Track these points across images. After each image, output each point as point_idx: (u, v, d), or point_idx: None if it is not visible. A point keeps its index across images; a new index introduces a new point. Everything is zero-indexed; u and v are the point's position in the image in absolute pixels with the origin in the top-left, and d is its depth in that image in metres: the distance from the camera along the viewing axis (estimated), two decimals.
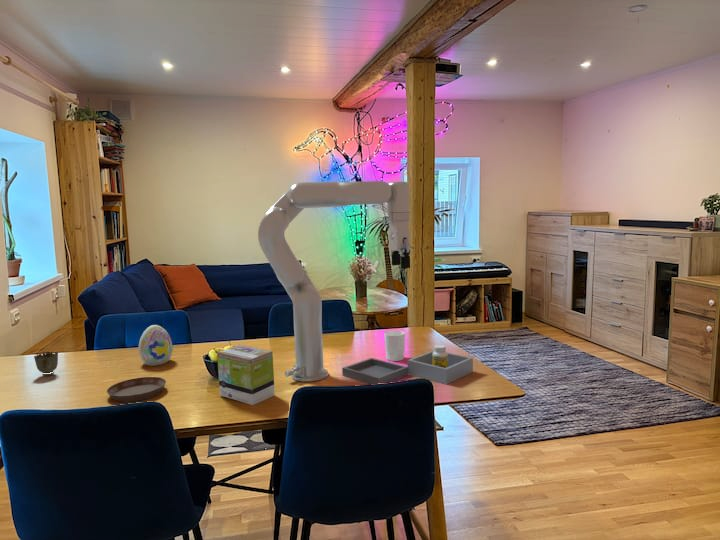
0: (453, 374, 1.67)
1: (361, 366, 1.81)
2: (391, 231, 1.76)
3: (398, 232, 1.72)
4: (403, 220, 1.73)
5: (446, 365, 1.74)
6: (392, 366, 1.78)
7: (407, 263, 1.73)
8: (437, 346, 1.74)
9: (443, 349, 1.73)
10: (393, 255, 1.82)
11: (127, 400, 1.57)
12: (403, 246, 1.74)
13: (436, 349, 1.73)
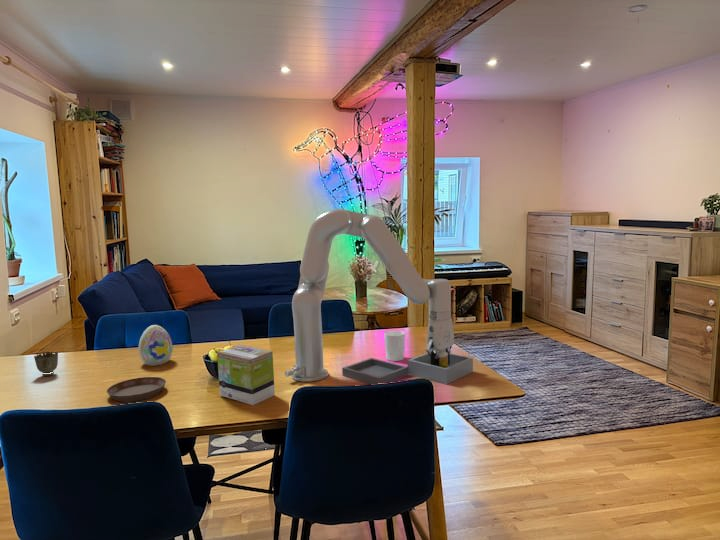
0: (453, 374, 1.67)
1: (361, 366, 1.81)
2: (445, 330, 1.72)
3: None
4: None
5: (446, 365, 1.74)
6: (392, 366, 1.78)
7: None
8: None
9: (443, 349, 1.73)
10: None
11: (127, 400, 1.57)
12: None
13: None
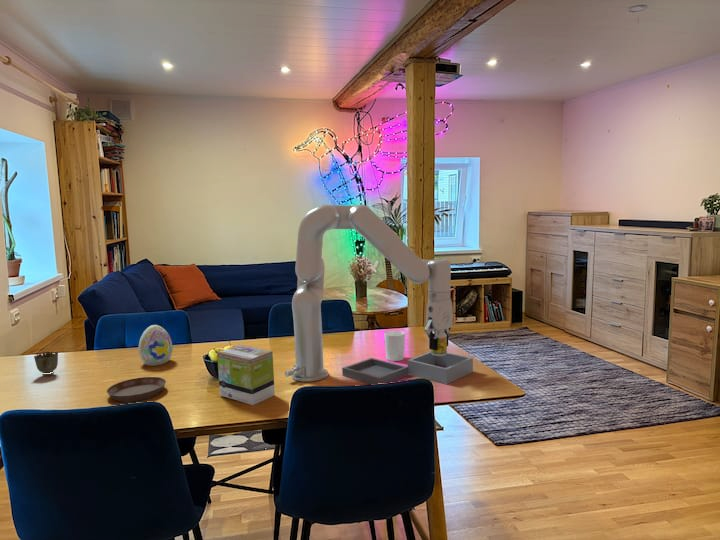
0: (453, 374, 1.67)
1: (361, 366, 1.81)
2: (445, 310, 1.71)
3: None
4: None
5: (445, 346, 1.73)
6: (392, 366, 1.78)
7: None
8: None
9: (442, 330, 1.72)
10: None
11: (127, 400, 1.57)
12: None
13: None
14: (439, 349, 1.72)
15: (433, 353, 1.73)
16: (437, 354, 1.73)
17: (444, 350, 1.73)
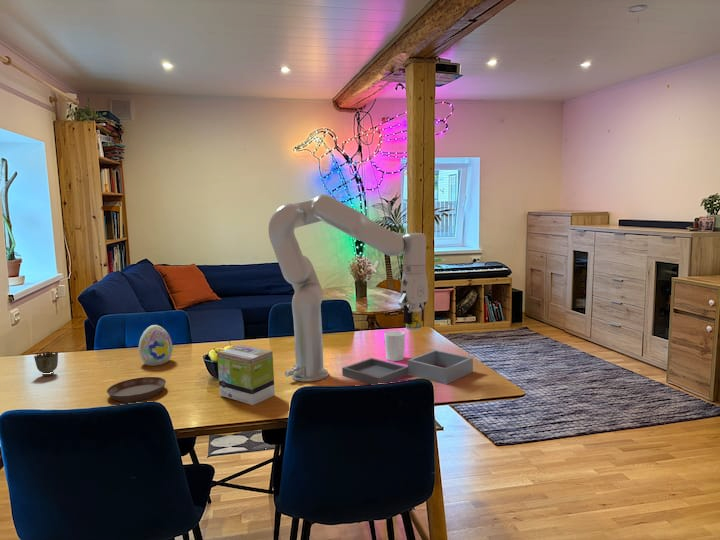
0: (453, 374, 1.67)
1: (361, 366, 1.81)
2: (419, 284, 1.69)
3: None
4: None
5: (419, 320, 1.72)
6: (392, 366, 1.78)
7: None
8: None
9: (417, 304, 1.71)
10: None
11: (127, 400, 1.57)
12: None
13: None
14: (413, 323, 1.71)
15: (407, 327, 1.72)
16: (411, 328, 1.71)
17: (418, 324, 1.72)
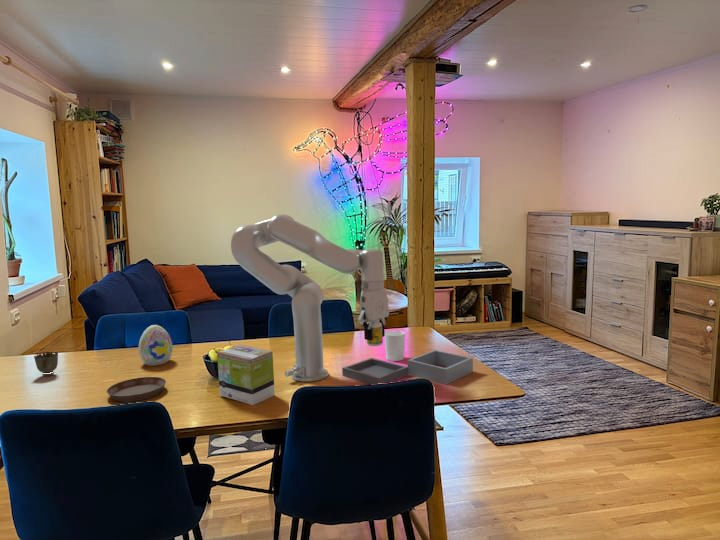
0: (453, 374, 1.67)
1: (361, 366, 1.81)
2: (378, 300, 1.70)
3: None
4: None
5: (380, 336, 1.72)
6: (392, 366, 1.78)
7: None
8: None
9: None
10: None
11: (127, 400, 1.57)
12: None
13: None
14: (374, 339, 1.71)
15: (368, 343, 1.73)
16: (372, 344, 1.72)
17: (379, 340, 1.72)
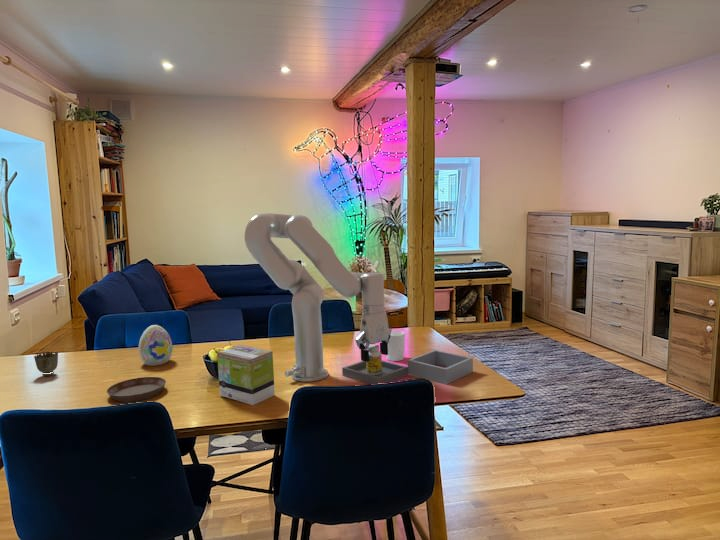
0: (453, 374, 1.67)
1: (361, 366, 1.81)
2: (378, 323, 1.71)
3: None
4: None
5: (379, 365, 1.73)
6: (392, 366, 1.78)
7: None
8: (370, 346, 1.74)
9: (376, 349, 1.73)
10: None
11: (127, 400, 1.57)
12: None
13: (369, 349, 1.73)
14: (373, 368, 1.73)
15: (368, 372, 1.74)
16: (372, 373, 1.73)
17: (379, 369, 1.73)
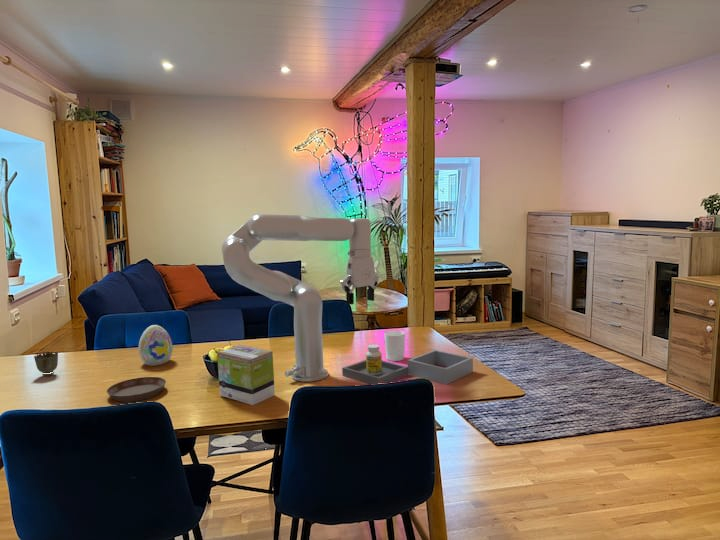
0: (453, 374, 1.67)
1: (361, 366, 1.81)
2: (364, 267, 1.75)
3: None
4: None
5: (379, 365, 1.73)
6: (392, 366, 1.78)
7: None
8: (370, 346, 1.74)
9: (376, 349, 1.73)
10: None
11: (127, 400, 1.57)
12: None
13: (369, 349, 1.73)
14: (373, 368, 1.73)
15: (368, 372, 1.74)
16: (372, 373, 1.73)
17: (379, 369, 1.73)
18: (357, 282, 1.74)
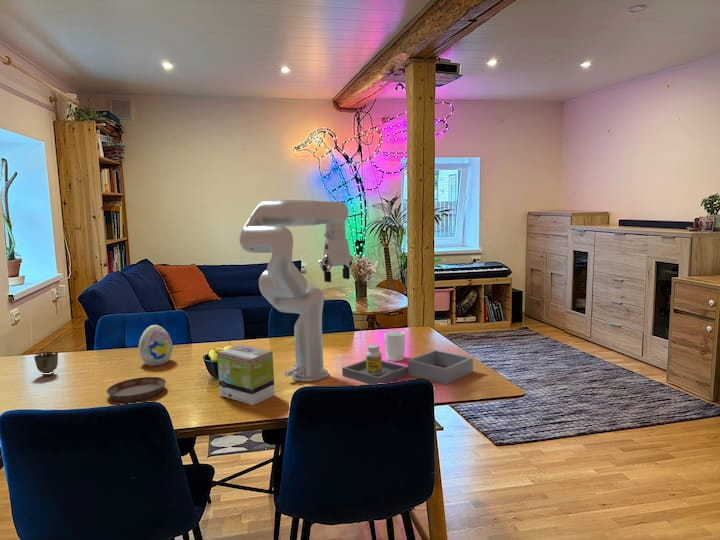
0: (453, 374, 1.67)
1: (361, 366, 1.81)
2: (340, 248, 1.90)
3: None
4: None
5: (379, 365, 1.73)
6: (392, 366, 1.78)
7: None
8: (370, 346, 1.74)
9: (376, 349, 1.73)
10: None
11: (127, 400, 1.57)
12: None
13: (369, 349, 1.73)
14: (373, 368, 1.73)
15: (368, 372, 1.74)
16: (372, 373, 1.73)
17: (379, 369, 1.73)
18: (334, 261, 1.89)
